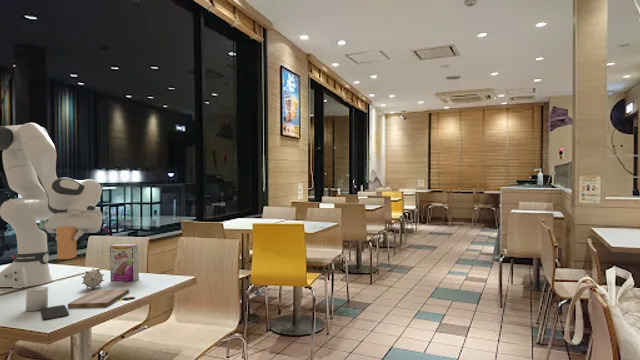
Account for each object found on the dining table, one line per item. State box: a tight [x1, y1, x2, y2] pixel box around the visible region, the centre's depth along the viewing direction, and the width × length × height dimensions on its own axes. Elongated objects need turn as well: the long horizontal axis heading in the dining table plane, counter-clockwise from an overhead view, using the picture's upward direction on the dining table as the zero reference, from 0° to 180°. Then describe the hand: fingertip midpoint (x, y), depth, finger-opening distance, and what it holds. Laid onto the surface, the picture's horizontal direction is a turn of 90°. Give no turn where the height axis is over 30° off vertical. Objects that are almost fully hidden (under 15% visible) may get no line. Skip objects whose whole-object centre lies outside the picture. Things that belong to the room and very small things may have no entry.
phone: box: [40, 304, 70, 321], centre depth 142 cm, size 7×1×15 cm
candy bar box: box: [109, 243, 140, 283], centre depth 186 cm, size 11×5×16 cm, turn 84°
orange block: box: [56, 226, 77, 260], centre depth 158 cm, size 5×5×12 cm
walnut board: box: [67, 288, 130, 309], centre depth 156 cm, size 14×18×2 cm
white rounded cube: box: [25, 286, 49, 312], centre depth 147 cm, size 6×6×7 cm
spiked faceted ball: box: [81, 268, 105, 290], centre depth 174 cm, size 9×8×10 cm
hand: (65, 240), depth 157 cm, fingers closed on orange block, 5 cm apart
